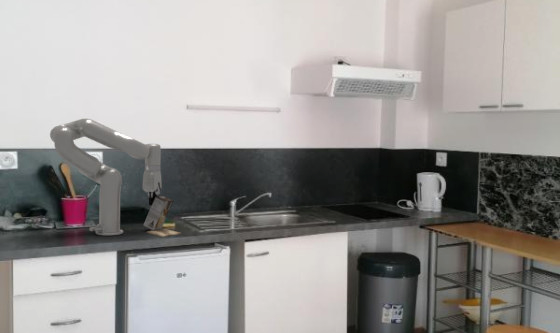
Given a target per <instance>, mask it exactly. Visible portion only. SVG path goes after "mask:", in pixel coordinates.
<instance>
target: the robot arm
mask: <svg viewBox="0 0 560 333" xmlns="http://www.w3.org/2000/svg"><path fill="white" fill-rule="evenodd" d="M49 136H50V140H51V141H52V142H53V143H54V149H55V152H56V153H57V155H58V156H59V158H60V159H62V160H63V161H64V162H66V163H67V164H69V165H70V166H72V167H73V168H75V169H76V170H77V172H79V173H80V174H81V175H83V176H85V177H87V178H88V179H90V180H92V181H93V182H95V183H97V184H98V185H100V186H99V193H98V194H99V197H98V198H99V200H98V204H99V205H98V206H99V207H98V210H99V212H98V213H99V215H98V216H99V217H98V223H97V224H96V226H90V227H89V230H88V231H90V232H95V234H96V235H97V236H98V235H99V236H105V237H106V236H109V237H110V236H118V235H121V234H122V235H123V233H124V230H123V229H121V188H122V183H123V180H122V178H123V177H122V175H121V172H120V171H119V170H117V168H114V167H111V166H108V165H106V164H104V163H103V162H101V161H100V160H99V159H98V158H97V157H96V156H94V155H91V154H89V153H88V152H86V151H84V149H82V148H80V147H79V146H77V145H76V143H75V142H74V141H76V140H78V139H82V138H84V137H85V138H87V139H90V140H91V141H93V142H96V143H97V144H101V145H103V146H105V147H107V148H110V149H113V150H117V151H120V152H123V153H126V154H128V155H129V156H130V157H131V158H133V159H135V160H136V159H137V160H144V170H143V171H144V172H143V176H142V190H143V191H144V192H145V193H146V194H147V198H148V206H150V207H151V206H152V204H153V201H154V199H155V197H156V196H158V195H160V194H161V191H162V185H163V184H162V172H161V158H162V156H161V155H162V154H161V145H160V144H159V143H147V144H146V143H144V142H142V141H139V140H136V139H134V138H132V137H130V136H128V135H125V134H123V133H122V132H119V131H117V130H114V129H113V128H110V127H108V126H106V125H104V124H102V123H99V122H97V121H95V120H94V119H91V118H81V119H76V120H74V121H70V122H67V123H63V124H60V125H57V126H54V127H53V128H52V129H51V130H50V134H49Z"/></svg>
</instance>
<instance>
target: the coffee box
mask: <svg viewBox="0 0 560 333" xmlns="http://www.w3.org/2000/svg"><path fill="white" fill-rule="evenodd" d="M173 203H174V200H173V199H171V198H169V197H167V196H165V195H157V196H156V197H155V199H154V201H153V204H152V206H151V205H150V209H149V211H148V213H147V216H146V218H145V221H144V223H143V227H145V228H147V229H150V230H151V231H154V230H161V229H163V226H164V224H165V221H166V219H167V216H168V214H169V212H170V210H171V207H172V205H173Z"/></svg>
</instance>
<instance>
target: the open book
mask: <svg viewBox="0 0 560 333" xmlns="http://www.w3.org/2000/svg"><path fill="white" fill-rule="evenodd" d="M146 233H147V234H151V235H154V236H158V237H163V238H164V237H165V238H166V237H171V236H176V235H182V232H179V231H175V230H171V229H168V228H162V229H158V230H148V231H146Z"/></svg>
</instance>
